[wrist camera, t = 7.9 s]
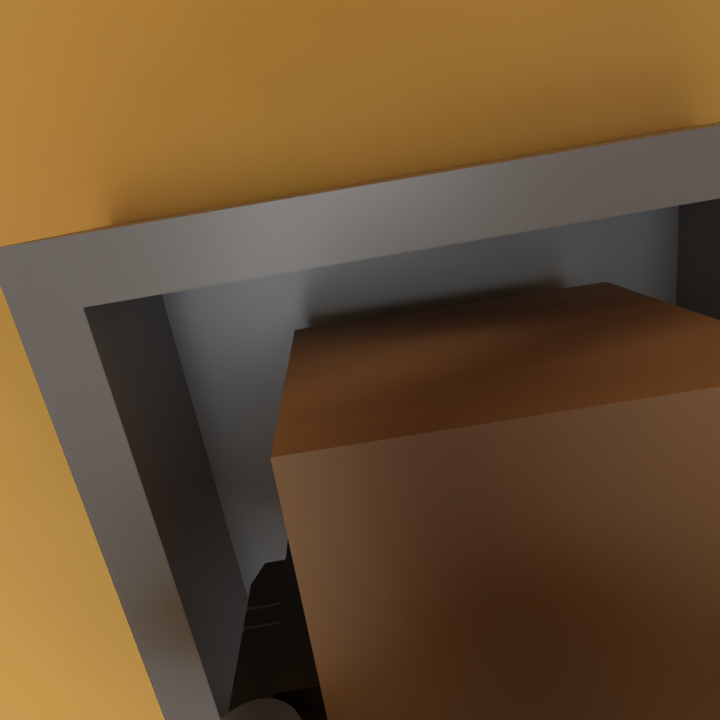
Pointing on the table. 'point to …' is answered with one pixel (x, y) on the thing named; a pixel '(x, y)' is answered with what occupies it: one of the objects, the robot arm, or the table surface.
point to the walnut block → (508, 508)
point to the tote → (274, 340)
